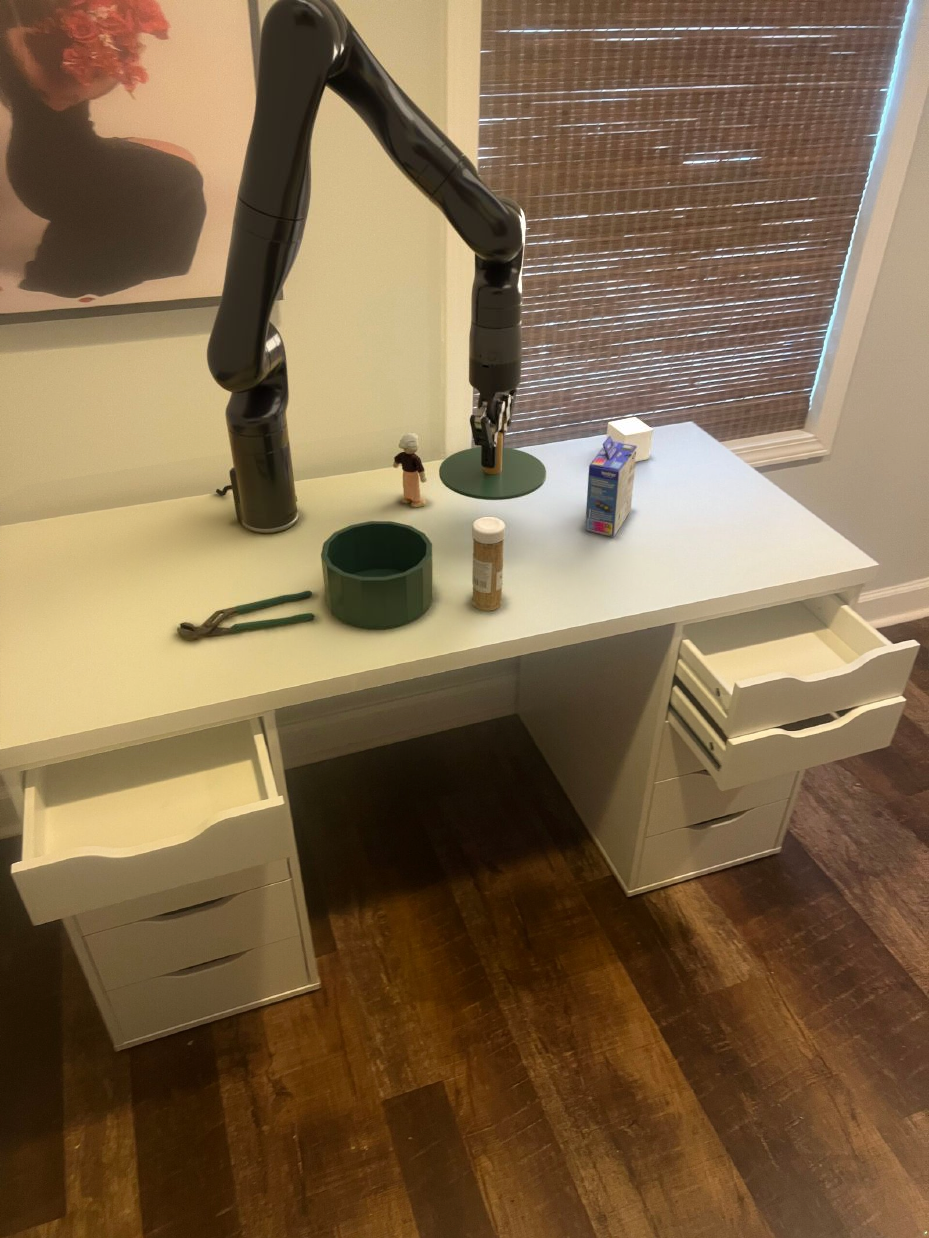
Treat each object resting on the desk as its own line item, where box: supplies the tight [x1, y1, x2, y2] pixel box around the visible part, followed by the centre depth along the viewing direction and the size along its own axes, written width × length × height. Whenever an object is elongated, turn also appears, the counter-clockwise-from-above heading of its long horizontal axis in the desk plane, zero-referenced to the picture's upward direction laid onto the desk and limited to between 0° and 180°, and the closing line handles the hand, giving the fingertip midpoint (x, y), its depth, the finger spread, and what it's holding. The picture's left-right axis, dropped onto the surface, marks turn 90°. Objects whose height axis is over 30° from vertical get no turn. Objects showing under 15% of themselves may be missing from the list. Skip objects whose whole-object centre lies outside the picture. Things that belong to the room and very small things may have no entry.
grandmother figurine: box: [392, 432, 427, 508], centre depth 153 cm, size 8×4×13 cm, turn 58°
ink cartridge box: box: [584, 436, 637, 538], centre depth 148 cm, size 10×6×14 cm, turn 155°
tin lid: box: [438, 432, 547, 501], centre depth 138 cm, size 17×17×7 cm
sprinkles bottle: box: [471, 516, 506, 612], centre depth 129 cm, size 5×5×14 cm
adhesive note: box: [605, 416, 654, 463], centre depth 170 cm, size 6×6×6 cm
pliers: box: [176, 590, 316, 641], centre depth 129 cm, size 20×6×1 cm, turn 109°
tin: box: [320, 520, 434, 631], centre depth 131 cm, size 16×16×8 cm
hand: (492, 461), depth 139 cm, fingers closed on tin lid, 3 cm apart
